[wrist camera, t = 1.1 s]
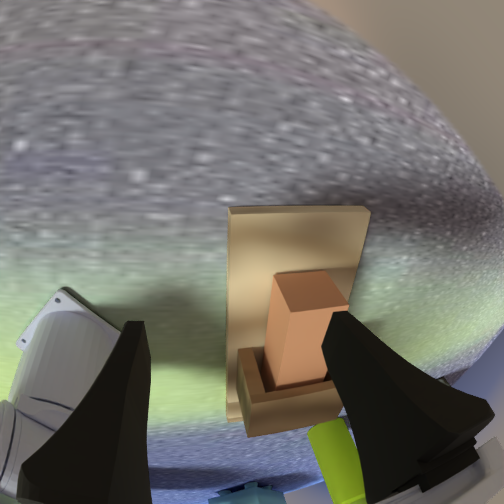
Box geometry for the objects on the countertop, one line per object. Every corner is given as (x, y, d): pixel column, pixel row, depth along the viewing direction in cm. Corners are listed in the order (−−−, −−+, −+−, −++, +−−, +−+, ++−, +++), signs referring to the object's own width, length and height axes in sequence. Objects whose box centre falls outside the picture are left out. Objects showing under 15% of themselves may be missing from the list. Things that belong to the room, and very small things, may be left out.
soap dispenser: (318, 417, 38) (369, 540, 21) (351, 417, 41) (401, 524, 24) (294, 437, 40) (335, 551, 24) (327, 436, 43) (369, 538, 26)
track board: (307, 400, 35) (310, 408, 34) (226, 414, 33) (227, 422, 32) (362, 205, 22) (371, 212, 21) (228, 207, 20) (231, 214, 19)
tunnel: (316, 375, 30) (336, 419, 25) (235, 388, 28) (247, 437, 24) (329, 335, 27) (355, 382, 22) (237, 348, 25) (251, 403, 21)
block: (298, 379, 29) (311, 411, 26) (259, 385, 28) (269, 419, 25) (325, 270, 23) (349, 304, 19) (273, 274, 22) (290, 312, 18)
